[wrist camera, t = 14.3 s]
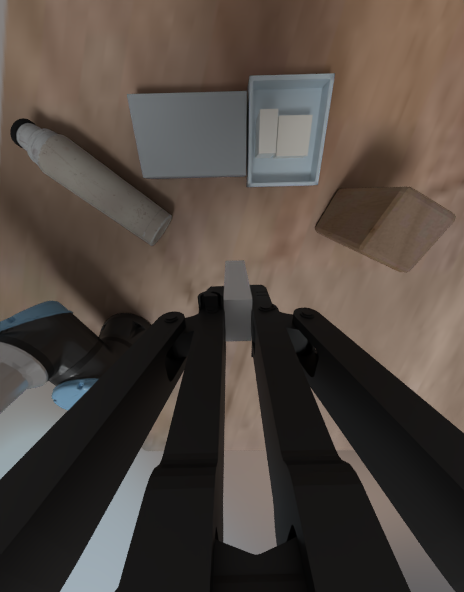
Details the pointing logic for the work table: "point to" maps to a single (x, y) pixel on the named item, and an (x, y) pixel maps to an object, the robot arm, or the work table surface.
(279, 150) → the tile
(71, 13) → the work table surface
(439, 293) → the work table surface
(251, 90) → the tray
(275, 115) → the tile
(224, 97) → the board
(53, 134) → the thermos bottle
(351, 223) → the wooden block
